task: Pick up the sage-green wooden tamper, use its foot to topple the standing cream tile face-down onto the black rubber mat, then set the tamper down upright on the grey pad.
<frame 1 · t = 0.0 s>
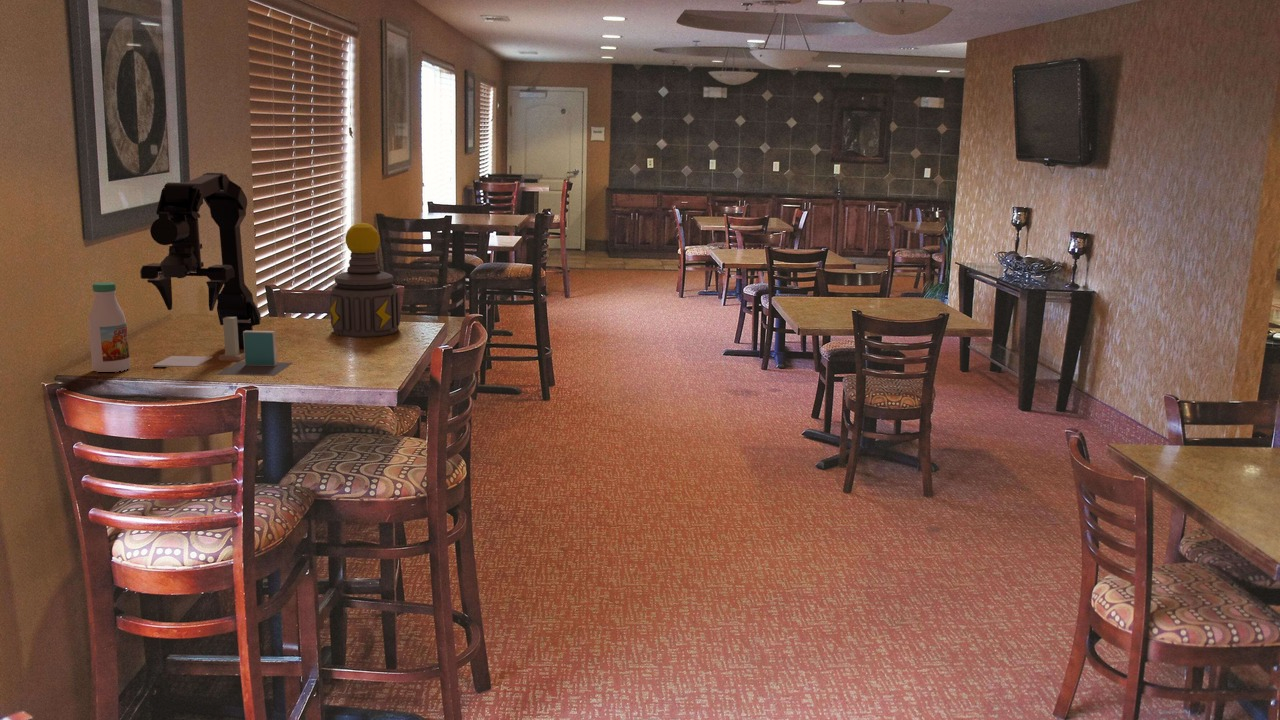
hand: (190, 310, 231), 15 cm above the table, fingers open, 9 cm apart
tile: (261, 364, 242), resting on mat
tamper: (232, 360, 248), on the table
mat: (256, 370, 239), on the table
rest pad: (183, 363, 244), on the table
milk bottle: (111, 370, 236), on the table
decorative lamp: (366, 332, 286), on the table
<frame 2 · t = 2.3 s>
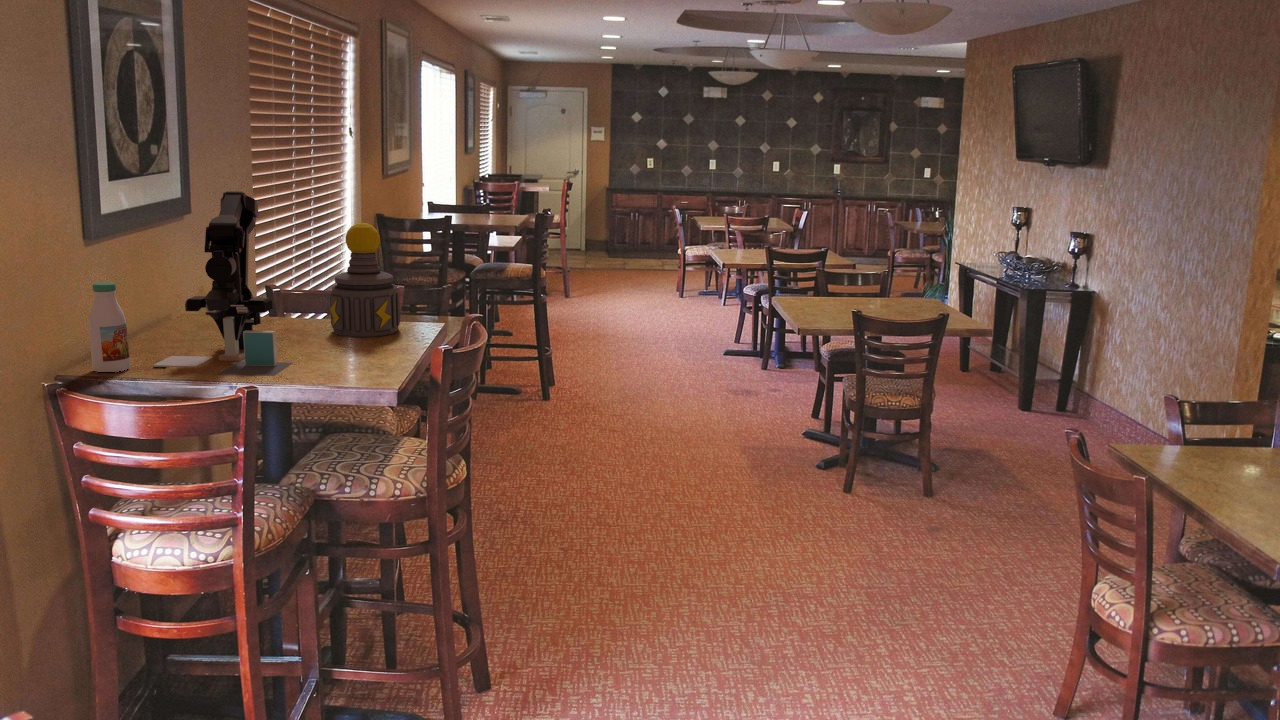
hand: (231, 340, 247), 5 cm above the table, fingers closed on tamper, 2 cm apart
tamper: (232, 360, 248), on the table, touching gripper
everything else where it was.
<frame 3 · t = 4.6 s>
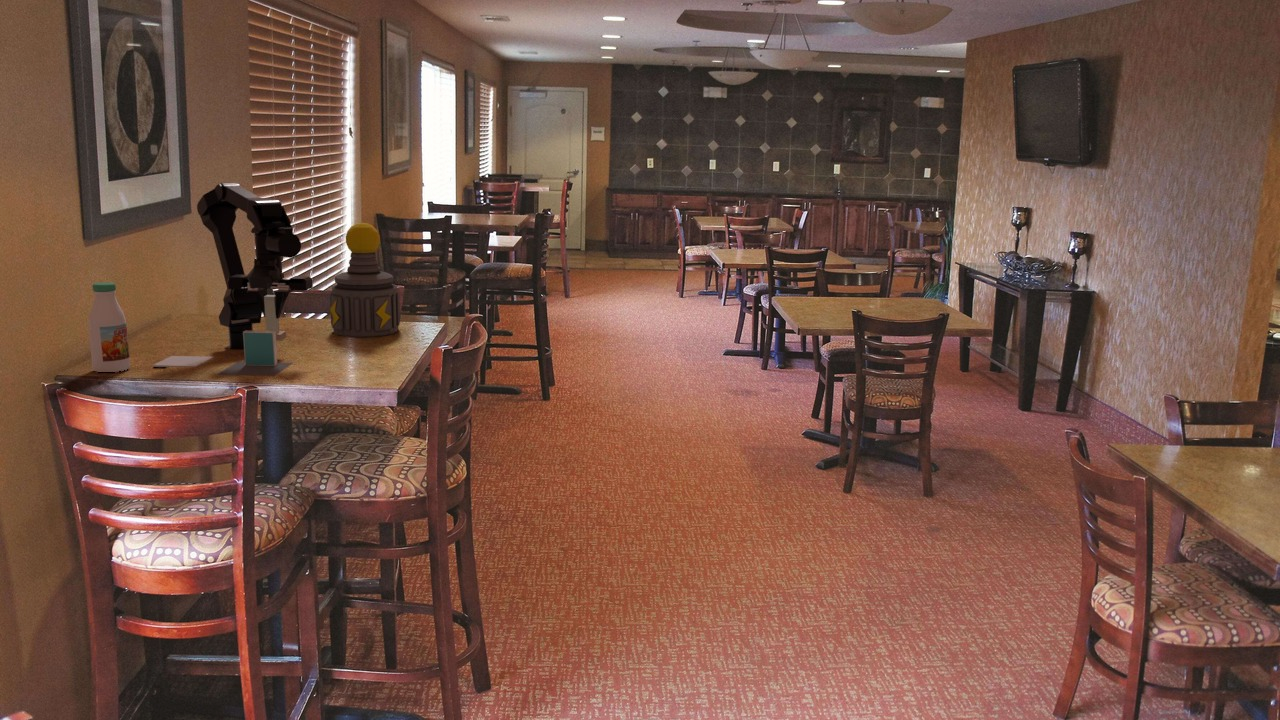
hand: (272, 318, 249), 10 cm above the table, fingers closed on tamper, 2 cm apart
tamper: (273, 338, 250), point 5 cm above the table, touching gripper
everything else where it was.
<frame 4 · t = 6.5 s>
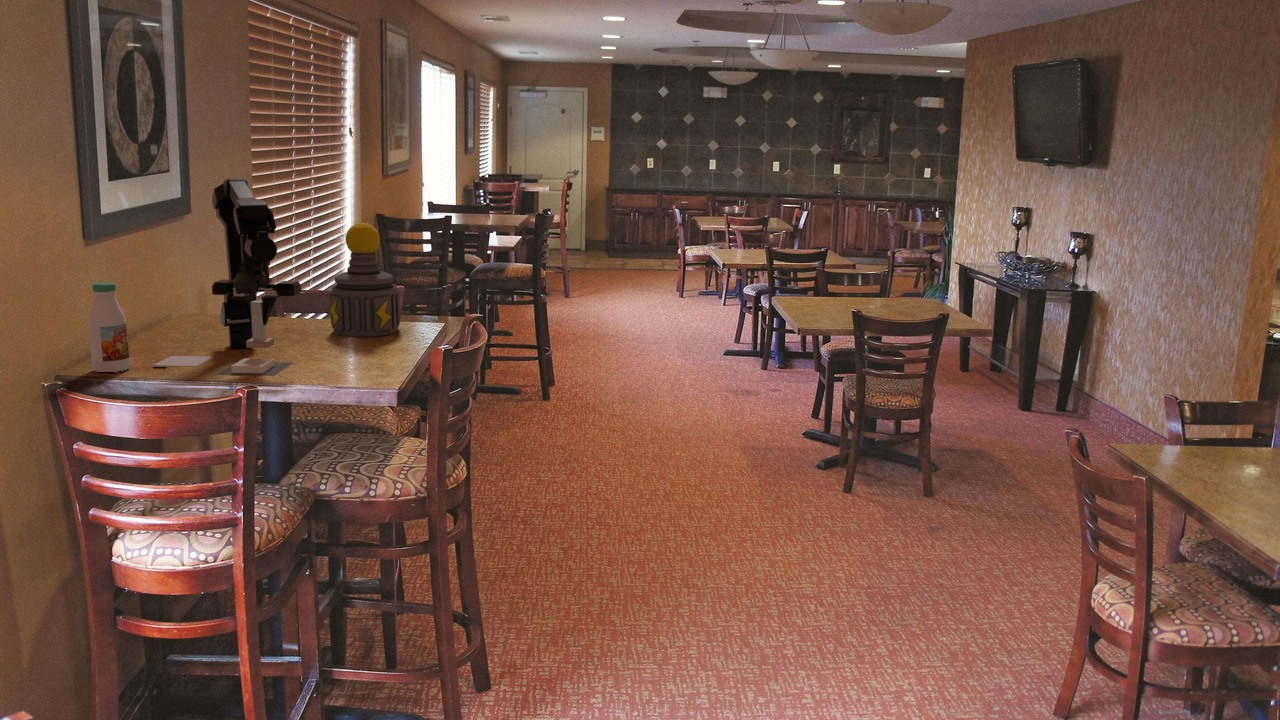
hand: (259, 324, 240), 10 cm above the table, fingers closed on tamper, 2 cm apart
tile: (259, 361, 241), point 1 cm above the table, tilted 90°, touching mat
tamper: (260, 345, 241), point 5 cm above the table, touching gripper
everything else where it was.
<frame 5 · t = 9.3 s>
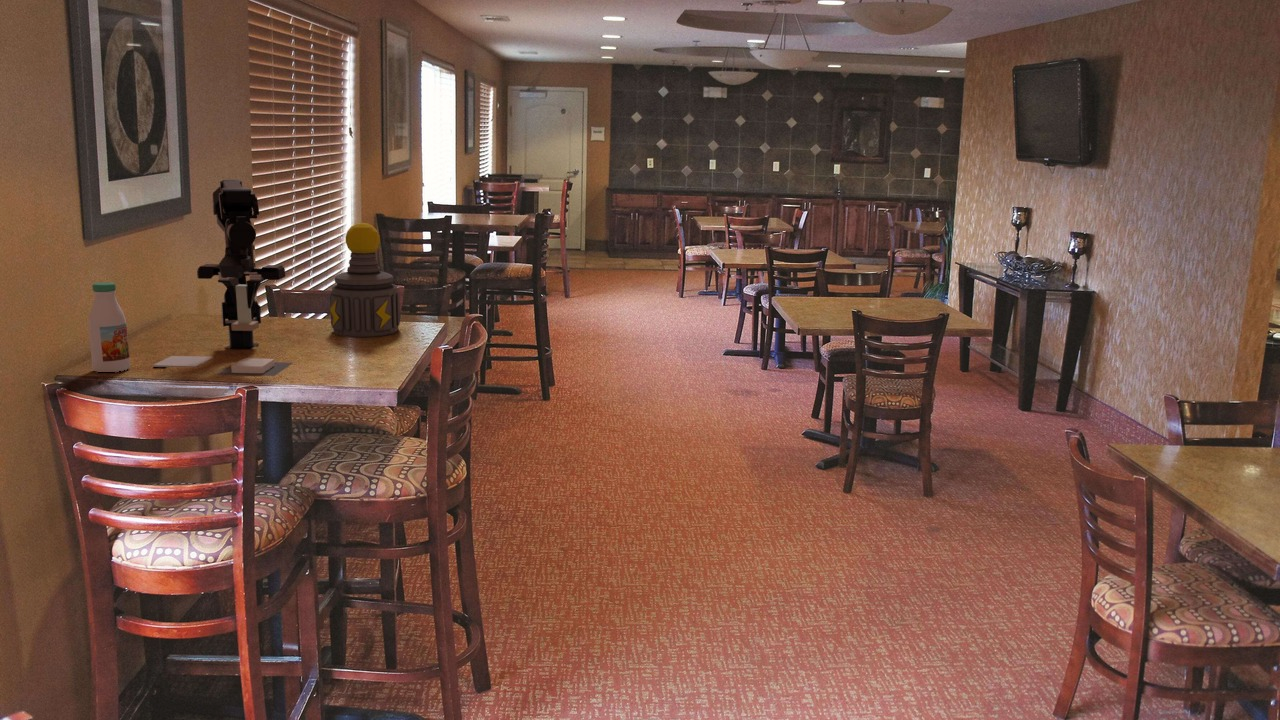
hand: (243, 308, 245), 13 cm above the table, fingers closed on tamper, 2 cm apart
tamper: (245, 328, 246), point 8 cm above the table, touching gripper
everything else where it was.
when the fingers open (7 cm above the table, at t = 11.4 s): tamper drops 1 cm, resting on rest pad.
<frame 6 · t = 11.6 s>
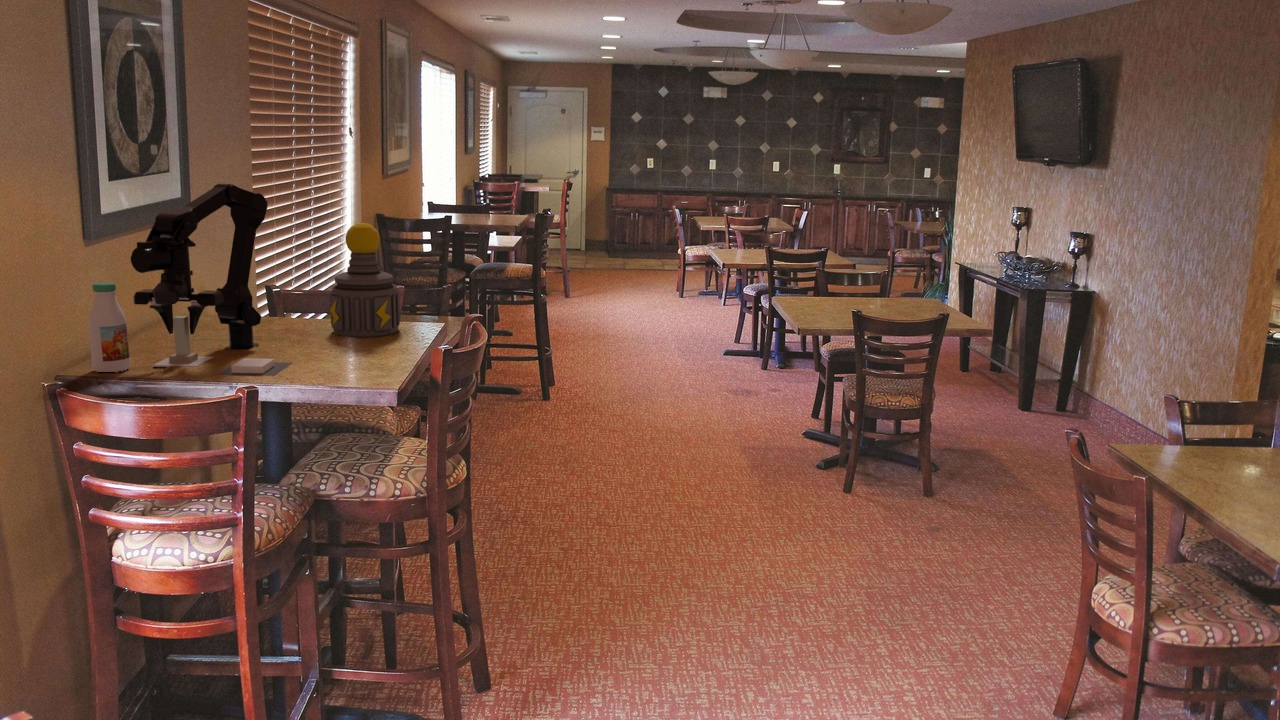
hand: (181, 333, 243), 7 cm above the table, fingers open, 5 cm apart
tamper: (183, 360, 244), point 1 cm above the table, touching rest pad
everything else where it was.
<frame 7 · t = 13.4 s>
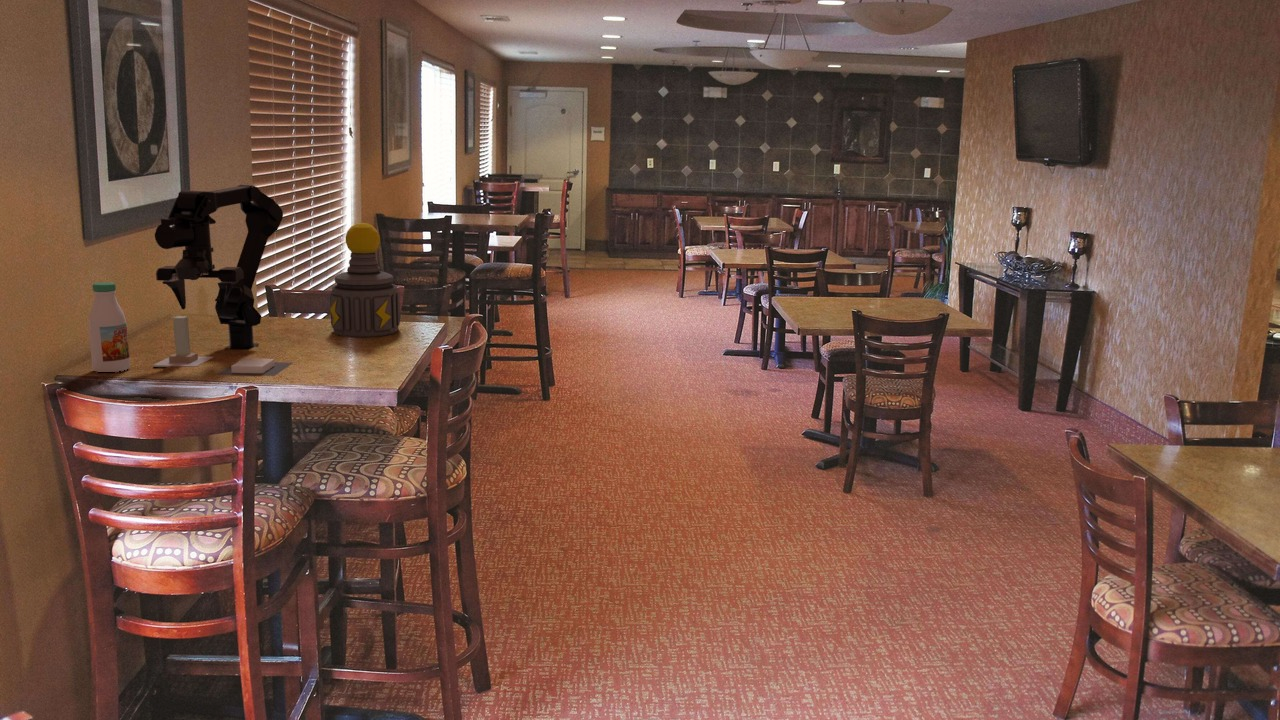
hand: (203, 309, 247), 12 cm above the table, fingers open, 9 cm apart
nothing on the table moved.
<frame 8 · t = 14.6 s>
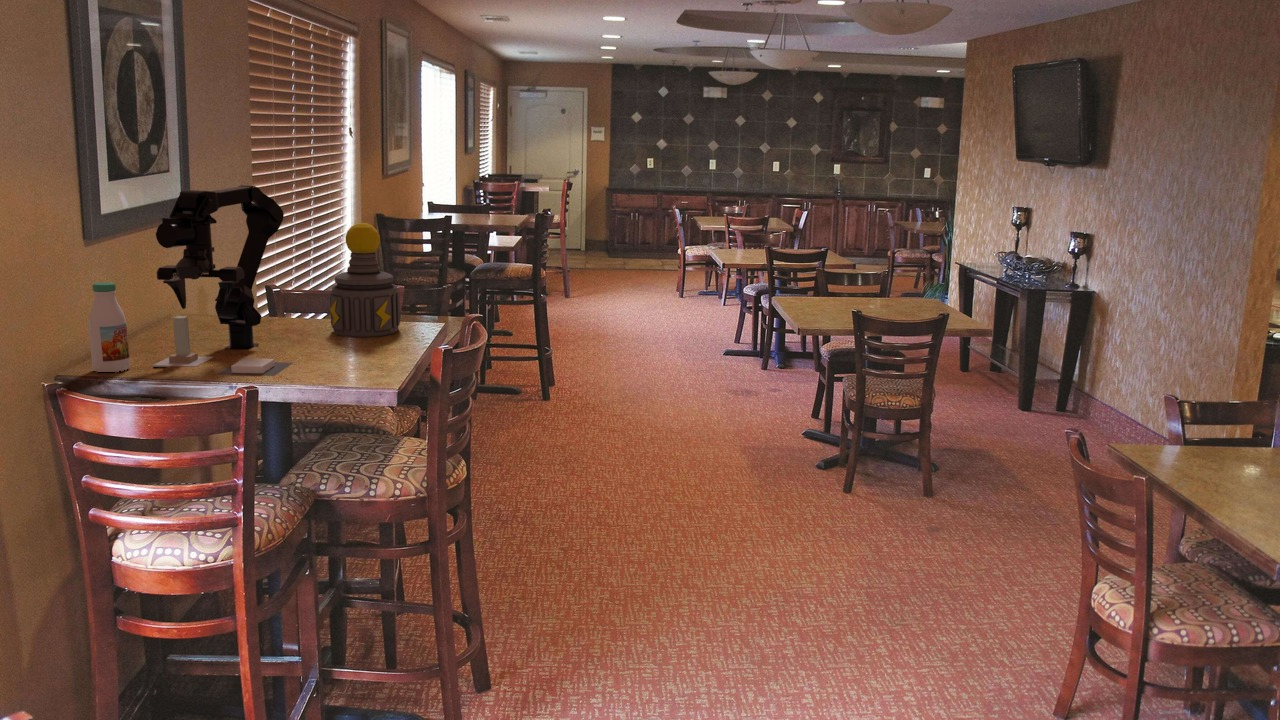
hand: (203, 309, 247), 12 cm above the table, fingers open, 9 cm apart
nothing on the table moved.
at the end: tile tilted 90°; tile inside the target area (2.6 cm from its centre), point 1.4 cm above the table; tamper inside the target area (0.0 cm from its centre), point 0.6 cm above the table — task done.
